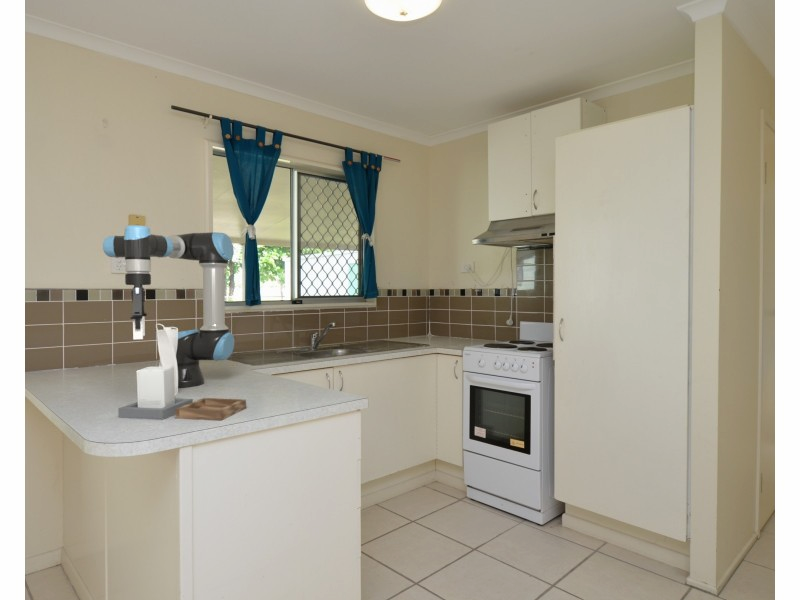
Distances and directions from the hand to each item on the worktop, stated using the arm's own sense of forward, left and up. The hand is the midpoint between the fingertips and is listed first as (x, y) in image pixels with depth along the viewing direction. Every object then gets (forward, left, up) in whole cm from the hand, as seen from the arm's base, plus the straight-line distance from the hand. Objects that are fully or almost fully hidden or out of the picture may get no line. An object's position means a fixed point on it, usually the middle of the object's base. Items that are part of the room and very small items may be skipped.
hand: (139, 337), depth 167 cm
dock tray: (-5, +23, -25) cm, 35 cm away
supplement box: (-3, +4, -26) cm, 26 cm away
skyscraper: (-27, -9, -26) cm, 38 cm away
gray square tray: (-3, +4, -25) cm, 26 cm away
